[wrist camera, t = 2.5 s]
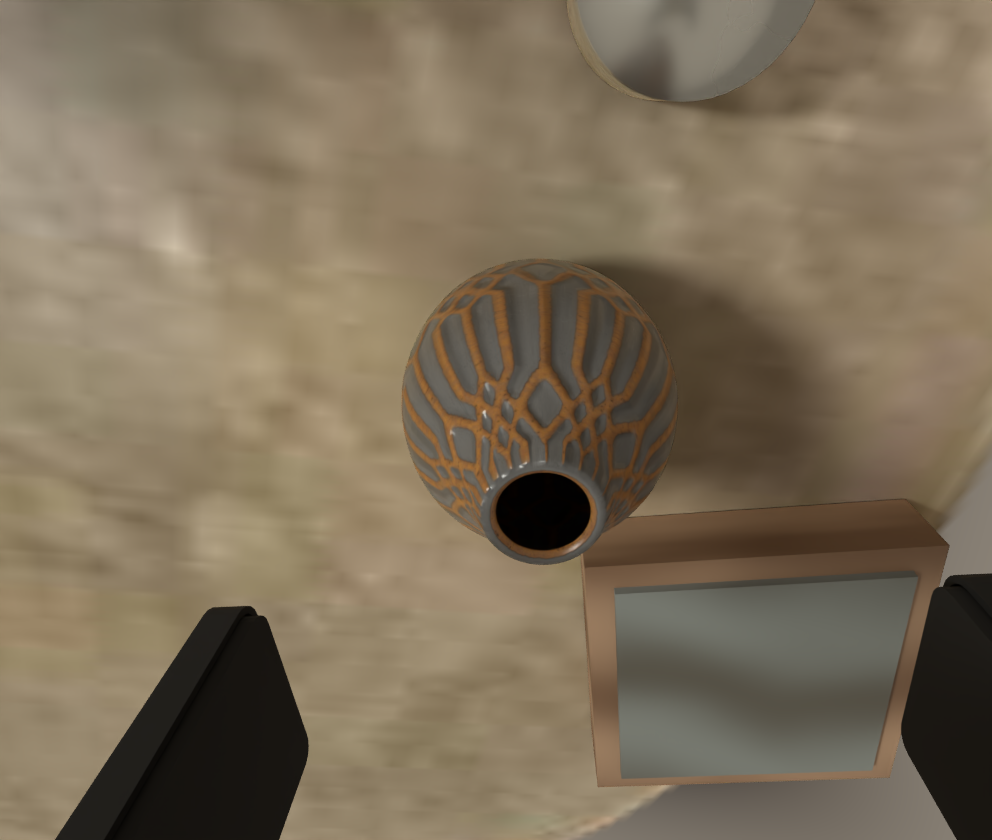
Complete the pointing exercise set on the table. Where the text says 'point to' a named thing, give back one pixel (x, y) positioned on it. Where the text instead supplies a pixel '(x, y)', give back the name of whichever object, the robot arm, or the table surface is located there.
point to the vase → (539, 407)
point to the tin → (683, 43)
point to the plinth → (756, 641)
